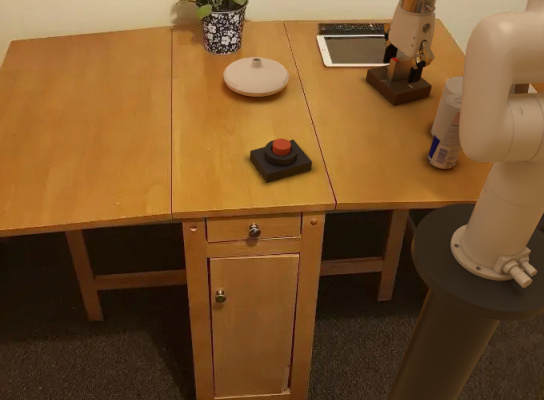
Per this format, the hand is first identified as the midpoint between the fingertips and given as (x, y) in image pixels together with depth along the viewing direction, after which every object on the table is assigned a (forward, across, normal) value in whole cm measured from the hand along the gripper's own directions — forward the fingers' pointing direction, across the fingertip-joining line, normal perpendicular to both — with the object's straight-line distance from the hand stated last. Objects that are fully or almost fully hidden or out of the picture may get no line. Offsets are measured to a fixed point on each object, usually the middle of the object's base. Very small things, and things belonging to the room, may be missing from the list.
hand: (400, 71), depth 137 cm
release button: (+1, -15, +39) cm, 42 cm away
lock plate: (+5, 0, 0) cm, 5 cm away
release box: (+5, -15, +39) cm, 42 cm away
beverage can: (+5, -27, +8) cm, 28 cm away
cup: (+5, -20, 0) cm, 20 cm away
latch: (+2, 0, 0) cm, 2 cm away
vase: (+5, +14, +31) cm, 34 cm away
